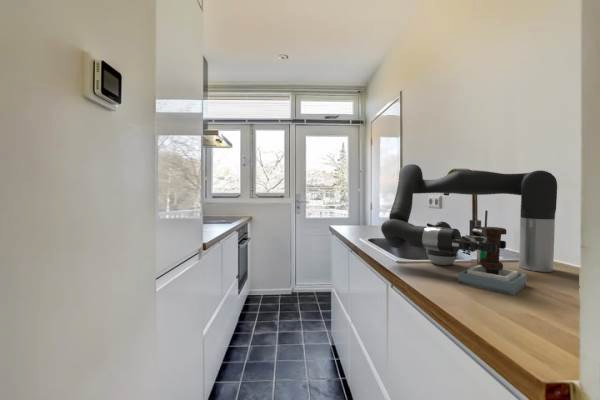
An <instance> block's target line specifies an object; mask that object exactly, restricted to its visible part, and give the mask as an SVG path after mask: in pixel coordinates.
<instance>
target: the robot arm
mask: <svg viewBox="0 0 600 400" xmlns="http://www.w3.org/2000/svg"><path fill="white" fill-rule="evenodd" d="M397 182H398V183H397V189H396V191H395V192H396V193H395V197H394V201H393V203H392V206H391V209H390V212H389V216H388V217H389V219H387V220H385V221H383V223H382V224H381V226H380V228H381V229H380V230H381V233H382V235H383V237H384V239H385V240H386V242H387V244H388V245H389V246H390V247H391V248H392V249H399V248H401V247H403V246H404V245H405V244H406V242H407V243H408V244H409V245H410V246H411V247H414V248H415V247H416V248H421V249H430V250H435V251H441V252H448V253H457V252H458V253H459V251H460V250H461V251H468V252H471V253H474V252H477V251H486V252H496V251H497V245H496V244H491V243H487V236H486V237H485V236H483V237H482V236H481V235H480V236H478V235H477V236H475V235H470V234H465V235H461V232H460V230H459V229H457V228H452V227H451V228H443V227H428V226H424V225H423V226H422V225H415V224H413V223H410V222H409V221H410V220H409V219H410V217H411V213H412V208H413V197H414V196H413V195H414V194H415V195H416V194H417V195H419V194H456V195H468V196H469V195H473V196H475V195H476V196H480V195H481V196H483V195H484V196H487V195H502V194H504V195H505V194H506V195H515V196H520V198H521V199H520V221H519V249H518V250H519V252H518V267H519V268H521V269H523V270H529V271H535V272H543V273H550V272H554V259H555V258H554V257H555V255H554V254H555V228H556V211H557V201H558V199H557V197H558V181H557V178H556V177H555V176H554V175H553V173H551V172H549V171H546V170H534V171H531V172H523V173H501V172H494V171H485V170H478V169H477V170H476V169H474V170H471V169H470V170H468V169H466V170H464V169H463V170H462V169H460V170H456V171H453V172H451V173H448V174H446V175H445V176H443V177H440V178H437V179H424V175H423V171H422V168H421V167H420V166H419V165H417V164H413V163H412V164H409V163H408V164H406V165H404V166H403V167H401V169H399V171H398V181H397ZM483 240H486V243H483ZM506 247H507V241H505V240H500V248H499V249H500V250H501V249H502V250H504V249H506Z"/></svg>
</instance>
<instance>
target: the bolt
mask: <svg viewBox="0 0 600 400" xmlns="http://www.w3.org/2000/svg"><path fill="white" fill-rule="evenodd" d="M481 232H482V233H484V234H486V238H487V243H491V244H496V245H497V251H496V252H487V253H486V257H487V258H486V260H484V261H482V266H483V268H485V269H486V273H490V274H495V275H499V272H498V271H499V270H502V269H504V264H503V263H502V262H500V251H501V248H500V240H501V238H502V235H507V229H506V228H504V227H498V226H497V227H496V226H484V227H482V228H481ZM501 241H502V240H501Z"/></svg>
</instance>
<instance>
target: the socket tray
mask: <svg viewBox="0 0 600 400" xmlns="http://www.w3.org/2000/svg"><path fill="white" fill-rule="evenodd" d="M498 272H499V275H495V274H490V273H486V269H485V268H483V266H482V265H478V266H477V265H473V266H472V267H471V266H470V267H468V268H467V269H464V270H462V271H459V272H458V281H457V282H458V284H461V285H464V286H469V287H473V288H474V287H475V288H477V289H478V288H479V289H482V290H487V291H491V292H496V293H500V294H506V295H510V296H515V295H516V294H517V293H518V292H519V291H521V290H522V289H523V288H524V287H526V286H527V273H519V272H518V270H512V269H506V268H503V269H502V270H499V271H498Z"/></svg>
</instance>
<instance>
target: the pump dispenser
mask: <svg viewBox="0 0 600 400" xmlns="http://www.w3.org/2000/svg"><path fill="white" fill-rule="evenodd" d="M451 226H452V225H450V224H449V223H448V222H445V221H439V222H437V223H435V224H432V223H426V227H443V228H452V227H451ZM425 249H426V250H425V251H426V255H427V257H428V259H429V261H430V262H431V263H433V264H434V265H438V266H449V265H452V264H454V263H455V261H456V260H457V257H458V255H459V251H458V252H457V253H448V252H441V251H435V250H430V249H427V248H425Z"/></svg>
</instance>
